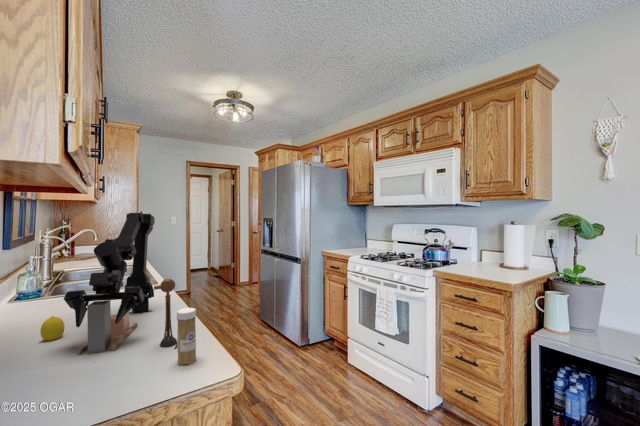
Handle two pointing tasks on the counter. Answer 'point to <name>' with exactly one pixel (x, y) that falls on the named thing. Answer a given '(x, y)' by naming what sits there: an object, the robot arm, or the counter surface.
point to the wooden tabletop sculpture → (167, 314)
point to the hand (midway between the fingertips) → (97, 324)
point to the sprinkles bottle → (186, 336)
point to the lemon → (52, 328)
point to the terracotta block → (119, 325)
